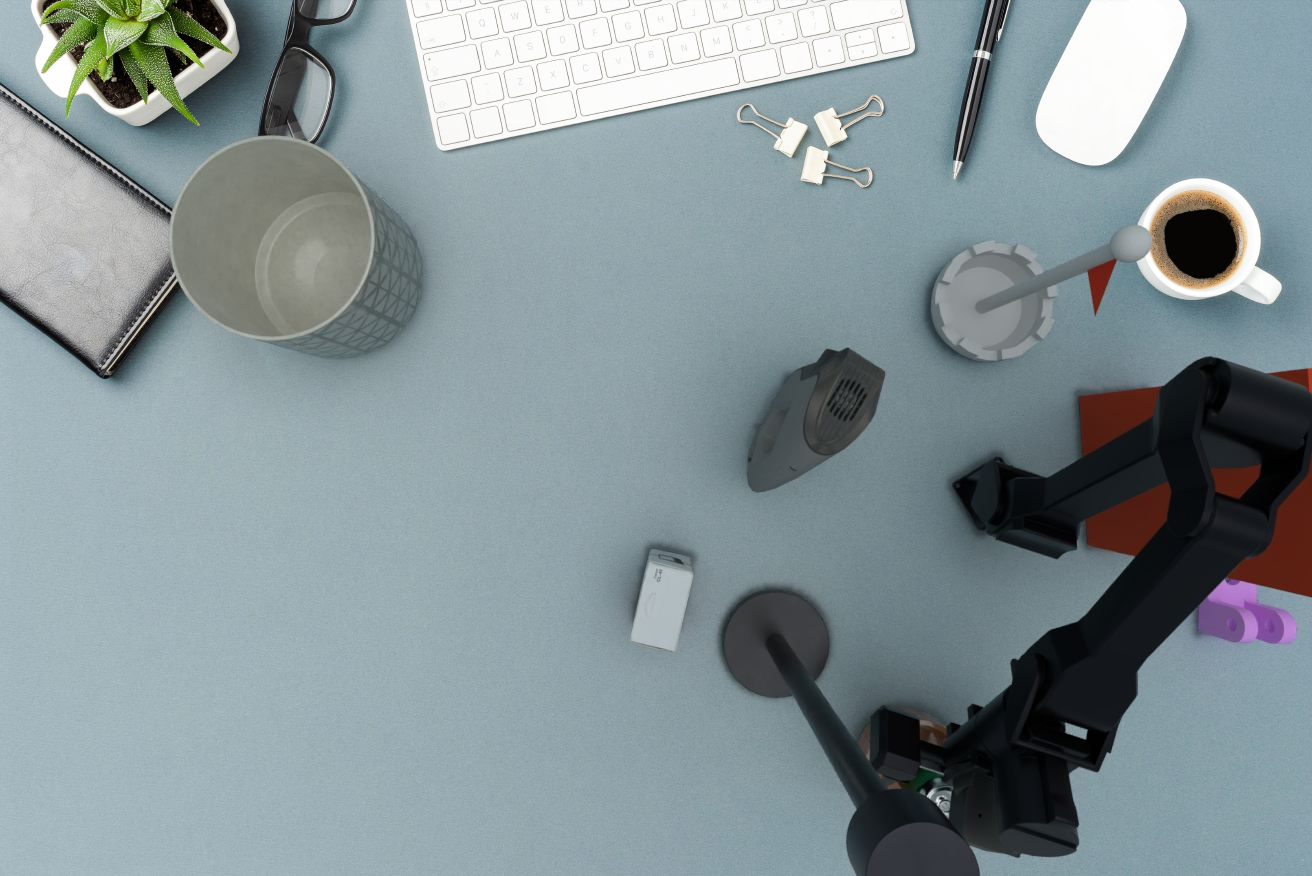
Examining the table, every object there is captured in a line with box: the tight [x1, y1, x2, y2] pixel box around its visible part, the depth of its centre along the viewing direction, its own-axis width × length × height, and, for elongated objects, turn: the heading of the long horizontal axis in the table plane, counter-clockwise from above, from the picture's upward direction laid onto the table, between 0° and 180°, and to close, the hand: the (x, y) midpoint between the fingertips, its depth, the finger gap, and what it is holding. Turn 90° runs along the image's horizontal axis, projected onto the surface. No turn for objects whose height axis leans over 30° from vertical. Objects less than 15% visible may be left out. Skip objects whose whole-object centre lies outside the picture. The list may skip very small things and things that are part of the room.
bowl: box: [856, 707, 947, 789], centre depth 87 cm, size 12×12×4 cm
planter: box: [168, 135, 424, 360], centre depth 80 cm, size 19×19×18 cm
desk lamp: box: [722, 589, 981, 876], centre depth 64 cm, size 12×12×49 cm
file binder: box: [1078, 367, 1312, 598], centre depth 73 cm, size 8×17×32 cm, turn 3°
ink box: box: [629, 548, 694, 653], centre depth 83 cm, size 9×5×12 cm, turn 167°
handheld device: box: [746, 346, 886, 493], centre depth 77 cm, size 6×15×25 cm, turn 147°
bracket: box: [1197, 578, 1298, 645], centre depth 86 cm, size 13×6×7 cm, turn 178°
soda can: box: [896, 767, 953, 818], centre depth 82 cm, size 5×5×12 cm
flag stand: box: [930, 224, 1153, 363], centre depth 74 cm, size 13×13×30 cm
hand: (925, 796), depth 81 cm, fingers open, 9 cm apart
